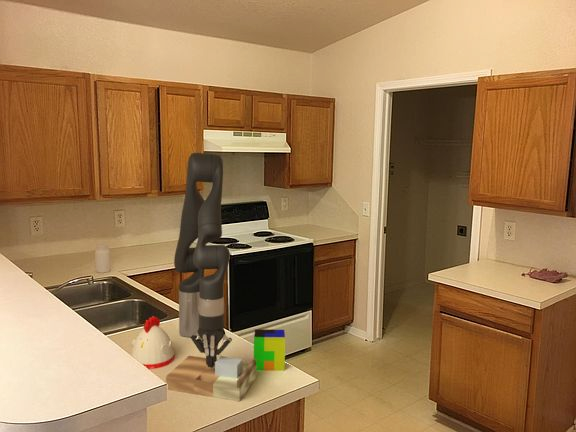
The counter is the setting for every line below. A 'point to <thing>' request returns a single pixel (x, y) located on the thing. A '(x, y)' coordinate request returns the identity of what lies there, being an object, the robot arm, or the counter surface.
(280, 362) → the puzzle toy
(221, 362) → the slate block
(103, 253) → the pill bottle
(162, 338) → the kitchen timer
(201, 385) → the board
